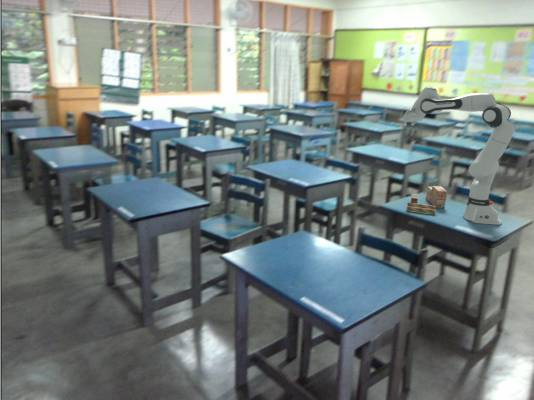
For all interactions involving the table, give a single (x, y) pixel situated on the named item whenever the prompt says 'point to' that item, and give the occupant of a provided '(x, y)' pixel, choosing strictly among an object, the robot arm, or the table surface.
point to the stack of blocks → (436, 196)
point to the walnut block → (414, 198)
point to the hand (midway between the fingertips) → (407, 125)
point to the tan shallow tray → (421, 208)
